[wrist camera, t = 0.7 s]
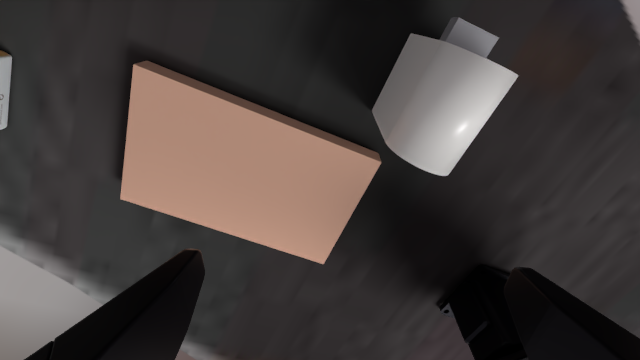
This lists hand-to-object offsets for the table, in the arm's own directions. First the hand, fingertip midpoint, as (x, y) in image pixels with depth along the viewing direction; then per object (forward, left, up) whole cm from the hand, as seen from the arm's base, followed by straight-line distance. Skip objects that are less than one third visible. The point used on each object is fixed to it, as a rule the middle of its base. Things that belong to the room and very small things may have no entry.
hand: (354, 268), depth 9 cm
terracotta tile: (+5, +6, -13) cm, 15 cm away
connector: (-3, -4, -13) cm, 14 cm away
